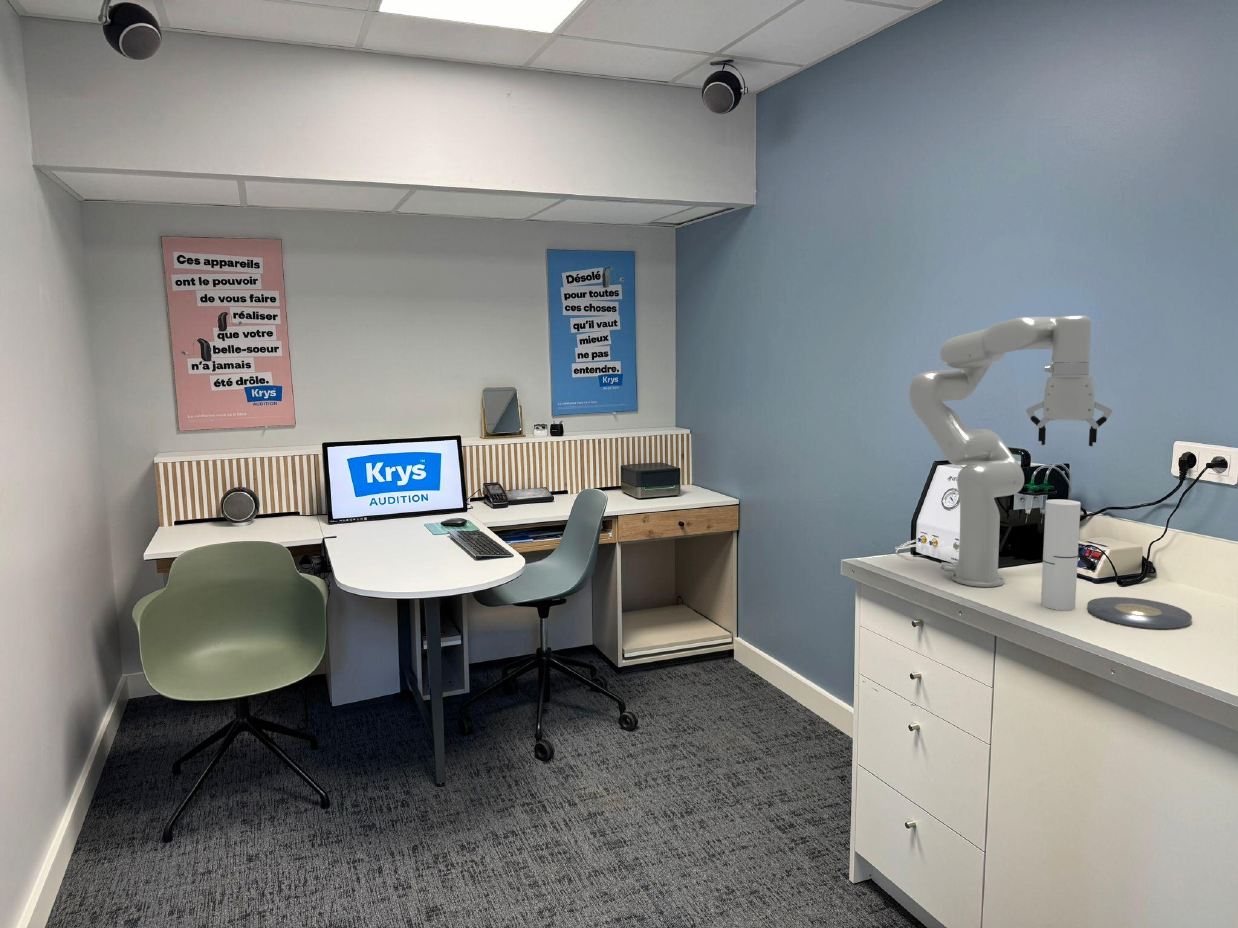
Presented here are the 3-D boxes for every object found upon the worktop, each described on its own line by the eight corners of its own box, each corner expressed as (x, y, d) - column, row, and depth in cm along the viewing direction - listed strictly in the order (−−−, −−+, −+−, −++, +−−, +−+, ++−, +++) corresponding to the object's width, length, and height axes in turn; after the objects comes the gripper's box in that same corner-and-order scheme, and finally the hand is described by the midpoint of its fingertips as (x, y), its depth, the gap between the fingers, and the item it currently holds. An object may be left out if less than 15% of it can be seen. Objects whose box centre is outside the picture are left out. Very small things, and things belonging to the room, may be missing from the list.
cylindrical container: (1072, 612, 188) (1078, 505, 184) (1038, 607, 192) (1043, 503, 189) (1077, 604, 193) (1082, 501, 190) (1044, 599, 198) (1048, 498, 194)
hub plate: (1087, 621, 181) (1087, 616, 181) (1086, 597, 198) (1086, 592, 198) (1196, 634, 171) (1197, 628, 171) (1186, 608, 189) (1186, 603, 188)
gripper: (1027, 371, 187) (1024, 445, 189) (1115, 370, 178) (1111, 448, 180) (1028, 370, 193) (1025, 442, 195) (1113, 369, 185) (1109, 444, 187)
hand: (1066, 445), depth 188 cm, fingers open, 9 cm apart
